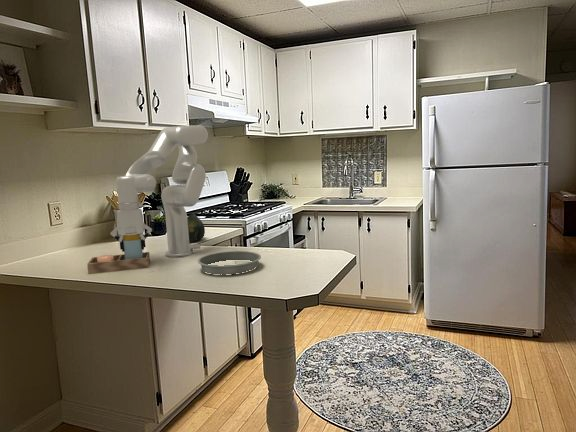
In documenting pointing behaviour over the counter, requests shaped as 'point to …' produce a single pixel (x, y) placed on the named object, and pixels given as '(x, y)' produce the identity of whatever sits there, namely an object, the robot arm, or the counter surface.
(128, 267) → the caddy
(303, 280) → the counter surface
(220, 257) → the cake pan
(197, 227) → the squash
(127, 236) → the bottle
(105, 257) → the pink small block
